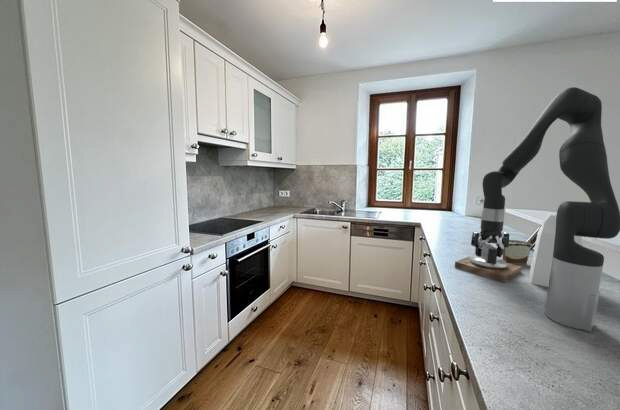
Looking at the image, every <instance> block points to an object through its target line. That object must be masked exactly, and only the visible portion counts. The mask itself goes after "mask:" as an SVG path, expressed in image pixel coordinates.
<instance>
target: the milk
mask: <svg viewBox="0 0 620 410" xmlns="http://www.w3.org/2000/svg"><path fill="white" fill-rule="evenodd" d="M556 216H557V214H552V213H551V214H549V215H548V216H547V217H546V219H545V220H544V221H543V223H542V224H541V226H540V228H539V229H538V231H537V235H536V240H535V245H534V250H533V255H532V260H531V263H530V264H531V265H530V268H529V269H530V270H529V275H528V276H529V279H530V282H531V283H530V284H531V285H532V284H533V285H538V286H542V287H545V288H546V287H547V288H548V286H549V279H550V272H551V265H552V258H553V251H554V241H555V231H556ZM574 240H575V242H576V243H578V244H579V245H581V246H583V238H582V236H574Z"/></svg>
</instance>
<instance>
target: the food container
mask: <svg viewBox="0 0 620 410" xmlns="http://www.w3.org/2000/svg"><path fill="white" fill-rule="evenodd" d="M532 248H533V244H532V243H531V242H528V241H524V240H516V239H509V247H505V248H504V249H503V255H502V260H504V261H505V262H507V263H509V264H513V265H527V264H528V261H529V257H530V253H531V249H532Z"/></svg>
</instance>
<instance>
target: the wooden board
mask: <svg viewBox="0 0 620 410" xmlns="http://www.w3.org/2000/svg"><path fill="white" fill-rule="evenodd" d="M472 255H473V254H472ZM472 255H469V256H466V257H464V258H461V259H459V260H457V261H455V262H454V268H456V269H459V270H462V271H463V270H464V271H465V272H466V271H467V272H469V273H472V274H475V275H476V274H477V275H478V276H483V277H484V278H485V277H486V278H489V279H493V280H497V281H498V282H502V283H506V282H508V281H509V280H511V279H513V278H514V277H516V276H517V275H519V274H520V273H521V272H522V266H521V265H518V264H509V263H507V268H506V269H491V268H486V267H481V266H478V265H475V264H473V263H471V262H470V256H472Z"/></svg>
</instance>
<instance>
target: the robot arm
mask: <svg viewBox="0 0 620 410" xmlns="http://www.w3.org/2000/svg"><path fill="white" fill-rule="evenodd" d="M602 105H603V104H602V100H601V99H600V98H599V96H597V95H595V94H593V93H591V92H589V91H586V90H584V89H581V88H579V87H573V86H572V87H568V88H566V89H564V90H561V91H560V92H559V93H558V94H557V95H556V96H555V97H554V98H553V99H552V100H551V101H550V102H549V104H548V105H547V106H546V107H545V109H544V110H543V111H542V113H541V114H540V115H539V117H537V119H536V121H535V122H534V123H533V125H532V126H531V128H530V129H528V132H527V133H526V134H525V136H524V137H523V138H522V139H521V141H519V142H518V144H517V145H516V146H515V147H514V148H513V149H512V150H511V151H510V152H509V153H508V154H507V155H506V156H505V157H504V158H503V160H502V163H501V165H502V166H500V168H499V169H498V170H493V171H489V172H486V174H485V175H484V177H483V178H482V192H483V196H484V199H483V207H482V208H483V209H482V210H481V211H482V212H481V219H480V232H476V231H473V232H472V235H471V241H470V245H471V246H473V247H475V248H474V249H475V251H474V255H476V256H478V257H481V252H482V247H483V245H485V244H495V245H496V249H497V258H502V257H503V249H504V248H505V247H509V240H510V233H508V232H504V231H503V229H504V221H505V205H506V197H505V195H503V189H505V188H506V187H508V186H509V185H510V184H511V183H512V182H513V181H515V178H516V177H517V176H518V174H519V173H520V171H522V170H523V169H524V168H525V167H526V166H527V165H528V164H529V163H530V162H531V161H532V160H533V159H535V157H536V156H537V155H538V153H539V152H540V149H541V148H542V144H543V142H544V141H543V140H544V138H545V135H546V133H547V131H548V129H549V128H550V127H551V125H552V124H553V123H555V121H557V120H558V119H559V120H561V121H563V122H566V123H567V124H568V125H569V127H570V136H569V137H568V138H567V139H566V140H565V141H564V142H563V143H562V144H561V146H560V148H559V152H558V153H559V156H558V157H559V158H558V159H559V167H560V171H562V174H563V175H565V177H567V178H568V179H569V180H570V181H571V182H572V183H574V184H575V185H576V186H578V187H579V188H580V189H581V190H582V191H584V193H585V194H586V195H587V197H588V199H589V201H572V200H571V201H570V200H569V201H563V202H561V203H560V205H558V208H557V211H556V215H557V216H556V231H555V241H554V251H553V258H552V265H551V272H550V279H549V286H548V287H547V293H546V294H547V295H546V300H545V307H544V308H545V309H544V314H545V316H546V317H548V319H550V320H552V321H554V322H556V323H557V324H560V325H562V326H563V325H564V326H566V327H569V328H573V329H578V330H583V331H586V332H592V330H593V328H594V325H595V322H596V318H597V317H596V316H597V312H598V305H599V299H600V287H601V286H600V284H601V278H602V273H603V268H604V264H605V257H604V255H603V254H602V253H600V252H598V251H596V250H594V249H592V248H588V247H585V246H583V245H582V246H581V245H579V244H578V243H576V242H575V240H574V236H581V237H584V238H592V239H607V240H608V239H613V238H615V237H617V236H618V235H619V233H620V208H619V204H618V201H617V198H616V195H615V192H614V190H613V186H612V182H611V178H610V173H609V172H610V171H609V165H608V155H607V150H606V149H607V148H606V145H605V142H604V135H603V134H604V133H603V129H602V128H603V127H602V112H603V111H602V110H603V106H602Z"/></svg>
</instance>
